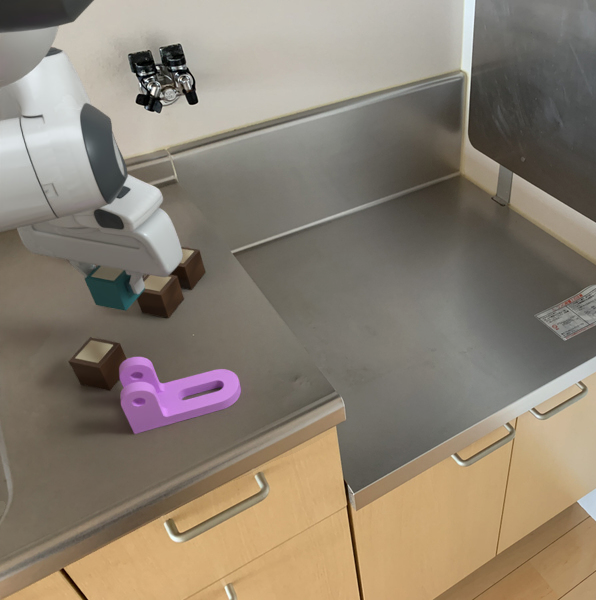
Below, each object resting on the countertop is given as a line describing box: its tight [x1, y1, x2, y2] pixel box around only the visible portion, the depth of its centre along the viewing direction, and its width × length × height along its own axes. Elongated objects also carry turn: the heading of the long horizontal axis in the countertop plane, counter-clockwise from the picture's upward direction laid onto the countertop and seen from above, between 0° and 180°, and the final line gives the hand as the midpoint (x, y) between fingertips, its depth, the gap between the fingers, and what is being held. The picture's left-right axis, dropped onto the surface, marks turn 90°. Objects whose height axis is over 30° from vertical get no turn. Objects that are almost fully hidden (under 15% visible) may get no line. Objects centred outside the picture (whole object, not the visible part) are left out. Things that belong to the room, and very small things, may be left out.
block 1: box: [68, 336, 128, 392], centre depth 78 cm, size 4×4×4 cm
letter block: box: [84, 265, 145, 312], centre depth 78 cm, size 4×4×4 cm
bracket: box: [119, 356, 242, 435], centre depth 74 cm, size 13×6×7 cm, turn 111°
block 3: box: [170, 246, 206, 291], centre depth 93 cm, size 4×4×4 cm
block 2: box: [136, 274, 185, 319], centre depth 88 cm, size 4×4×4 cm
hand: (117, 286), depth 78 cm, fingers closed on letter block, 4 cm apart
